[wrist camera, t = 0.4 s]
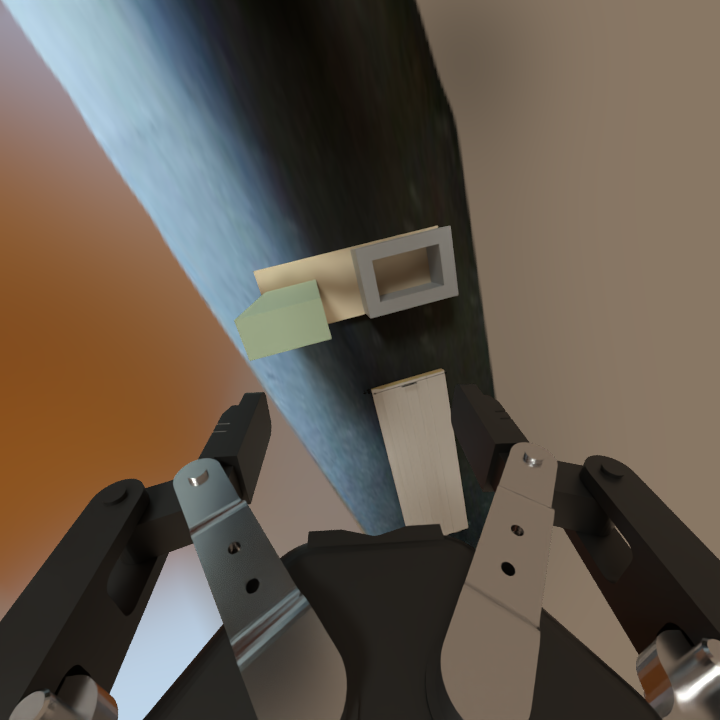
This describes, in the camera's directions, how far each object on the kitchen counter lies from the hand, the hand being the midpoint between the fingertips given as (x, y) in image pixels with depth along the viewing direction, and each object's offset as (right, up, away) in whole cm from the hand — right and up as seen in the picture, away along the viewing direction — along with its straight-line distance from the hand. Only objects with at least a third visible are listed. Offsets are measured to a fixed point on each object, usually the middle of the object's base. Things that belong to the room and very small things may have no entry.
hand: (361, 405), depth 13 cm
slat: (-8, +9, +23) cm, 26 cm away
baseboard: (+9, -15, +36) cm, 40 cm away
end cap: (+5, +13, +24) cm, 28 cm away
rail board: (-1, +11, +25) cm, 27 cm away
